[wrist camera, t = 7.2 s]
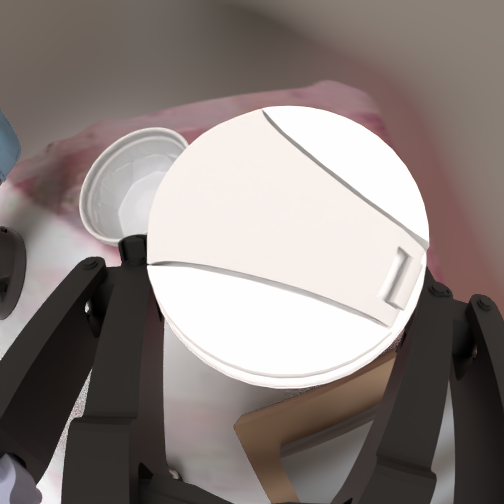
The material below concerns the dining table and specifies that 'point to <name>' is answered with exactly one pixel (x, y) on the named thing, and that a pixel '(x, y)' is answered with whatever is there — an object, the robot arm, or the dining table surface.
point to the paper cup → (287, 247)
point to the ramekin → (127, 183)
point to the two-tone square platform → (330, 437)
